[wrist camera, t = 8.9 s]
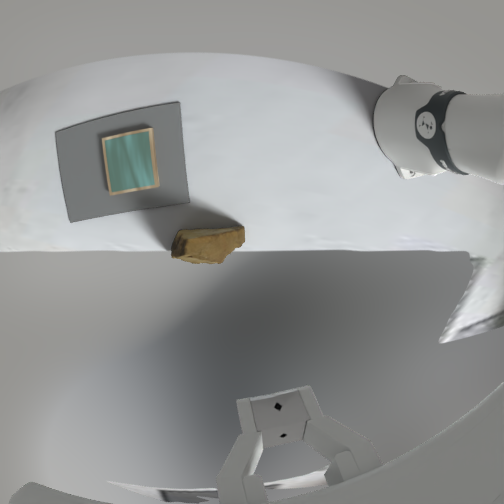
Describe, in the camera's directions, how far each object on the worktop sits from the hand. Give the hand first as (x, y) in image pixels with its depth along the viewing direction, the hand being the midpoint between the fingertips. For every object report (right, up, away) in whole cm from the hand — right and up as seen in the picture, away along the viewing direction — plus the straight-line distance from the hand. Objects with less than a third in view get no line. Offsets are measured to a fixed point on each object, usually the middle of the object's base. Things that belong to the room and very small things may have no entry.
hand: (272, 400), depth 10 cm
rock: (-7, +8, +30) cm, 32 cm away
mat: (-19, +18, +23) cm, 35 cm away
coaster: (-13, +18, +22) cm, 32 cm away
